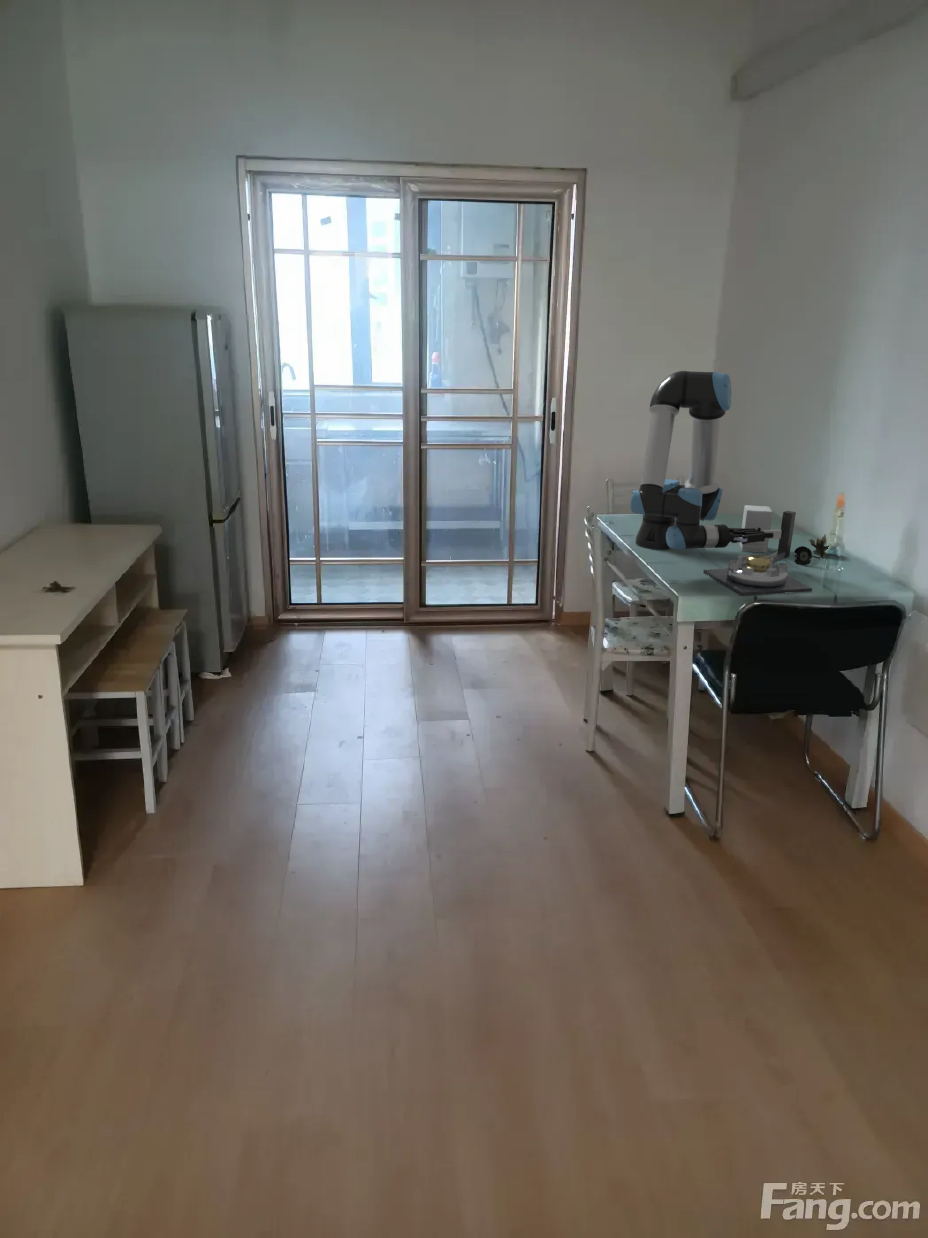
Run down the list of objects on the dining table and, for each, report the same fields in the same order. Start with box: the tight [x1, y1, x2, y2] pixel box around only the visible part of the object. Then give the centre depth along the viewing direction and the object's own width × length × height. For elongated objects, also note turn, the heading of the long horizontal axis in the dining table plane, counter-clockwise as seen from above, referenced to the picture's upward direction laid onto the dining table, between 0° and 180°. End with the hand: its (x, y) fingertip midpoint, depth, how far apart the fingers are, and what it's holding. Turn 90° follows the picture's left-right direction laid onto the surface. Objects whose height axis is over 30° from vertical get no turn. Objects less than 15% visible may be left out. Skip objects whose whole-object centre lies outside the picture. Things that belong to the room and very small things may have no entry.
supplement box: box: [739, 504, 773, 554], centre depth 317 cm, size 9×9×15 cm
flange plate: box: [703, 554, 813, 597], centre depth 281 cm, size 24×24×8 cm
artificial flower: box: [793, 534, 830, 566], centre depth 308 cm, size 9×22×10 cm, turn 132°
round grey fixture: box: [727, 510, 797, 587], centre depth 283 cm, size 30×18×18 cm, turn 139°
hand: (779, 533), depth 292 cm, fingers closed
